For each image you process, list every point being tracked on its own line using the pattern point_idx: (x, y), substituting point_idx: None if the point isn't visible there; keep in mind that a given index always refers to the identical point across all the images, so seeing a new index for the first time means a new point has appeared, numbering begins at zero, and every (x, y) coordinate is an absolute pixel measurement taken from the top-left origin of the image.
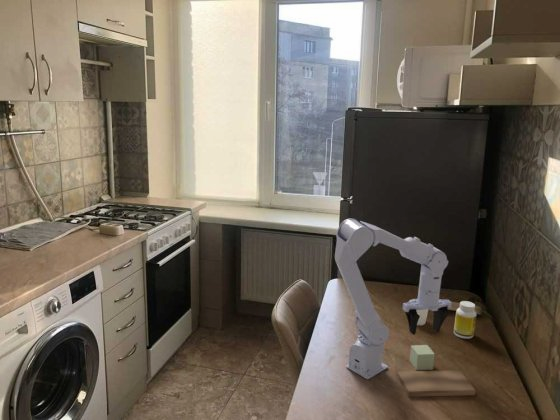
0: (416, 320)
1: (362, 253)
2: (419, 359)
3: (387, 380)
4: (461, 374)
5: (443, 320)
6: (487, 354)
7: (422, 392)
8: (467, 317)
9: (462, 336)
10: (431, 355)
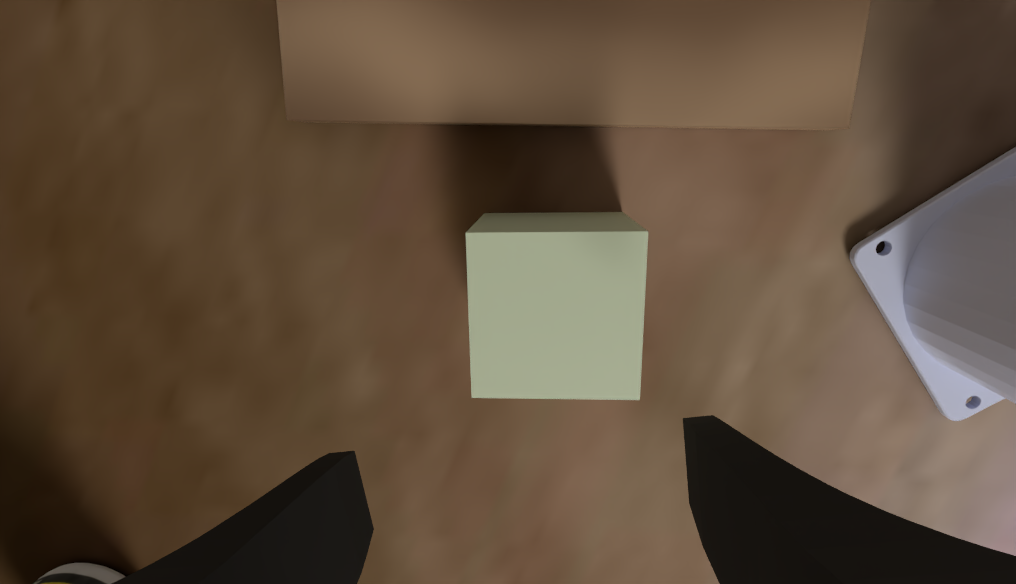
0: (865, 547)
1: None
2: (616, 224)
3: (936, 74)
4: (295, 57)
5: (164, 564)
6: (8, 375)
7: None
8: None
9: (111, 581)
10: (499, 229)
